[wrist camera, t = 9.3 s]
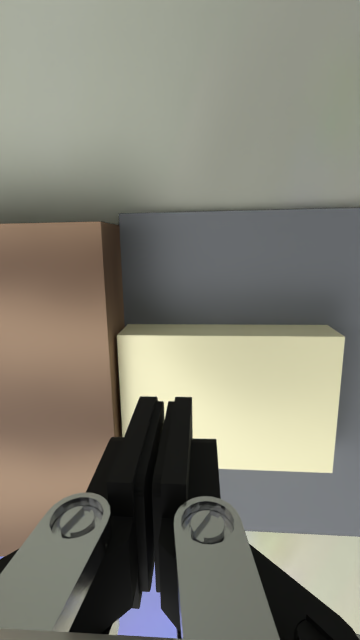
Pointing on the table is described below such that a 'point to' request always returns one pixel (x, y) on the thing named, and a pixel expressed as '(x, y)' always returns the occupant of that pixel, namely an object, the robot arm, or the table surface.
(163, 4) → the table surface
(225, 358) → the notepad
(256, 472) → the mat
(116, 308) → the block
